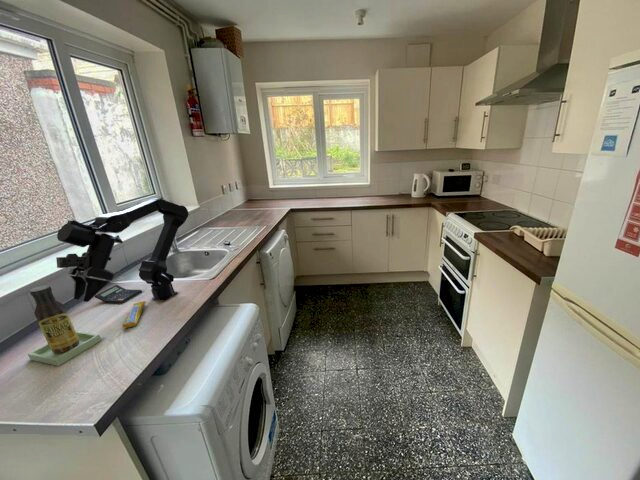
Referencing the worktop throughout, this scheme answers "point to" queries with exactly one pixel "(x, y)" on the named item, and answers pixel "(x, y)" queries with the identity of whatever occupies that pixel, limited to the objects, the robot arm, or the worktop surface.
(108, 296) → the calculator
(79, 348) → the tray
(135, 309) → the candy bar
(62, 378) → the worktop surface
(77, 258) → the robot arm
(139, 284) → the worktop surface
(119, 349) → the worktop surface
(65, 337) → the sauce bottle
